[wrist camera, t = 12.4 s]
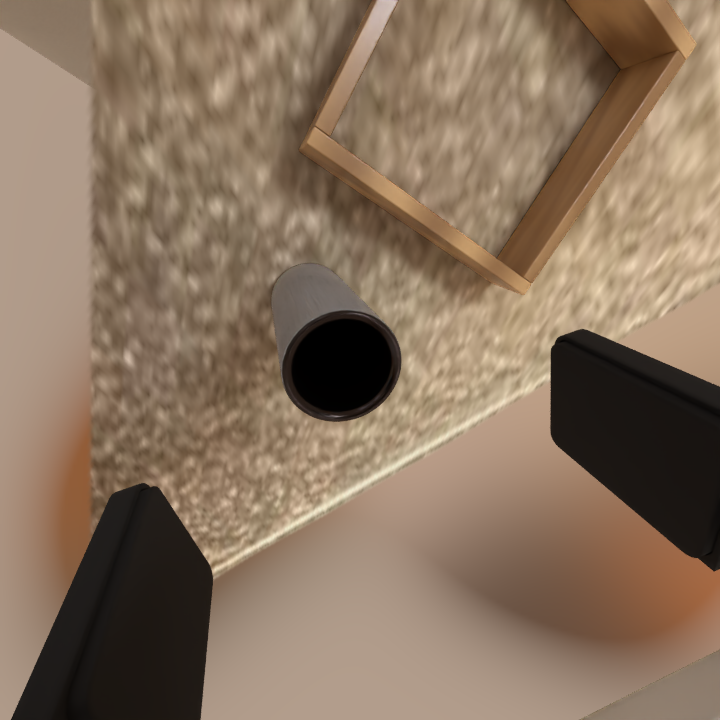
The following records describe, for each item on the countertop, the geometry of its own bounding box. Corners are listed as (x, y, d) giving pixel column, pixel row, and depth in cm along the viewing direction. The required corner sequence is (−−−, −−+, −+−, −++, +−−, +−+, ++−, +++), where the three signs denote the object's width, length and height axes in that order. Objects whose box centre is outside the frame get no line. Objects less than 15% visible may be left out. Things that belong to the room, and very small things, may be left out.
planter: (311, 349, 24) (344, 443, 15) (254, 303, 22) (253, 378, 13) (360, 297, 24) (425, 361, 15) (306, 245, 22) (343, 282, 13)
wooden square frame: (298, 151, 20) (305, 143, 17) (454, -170, 17) (499, -253, 14) (491, 283, 26) (524, 295, 23) (636, 64, 22) (697, 44, 19)
